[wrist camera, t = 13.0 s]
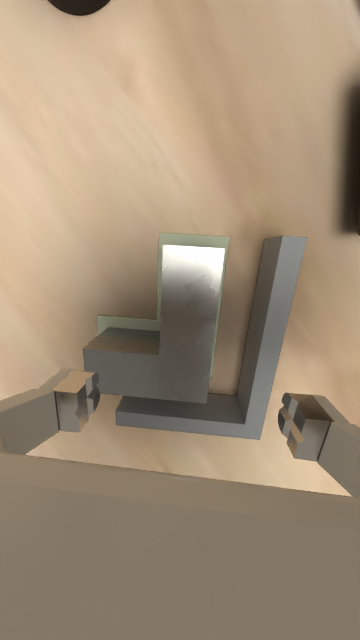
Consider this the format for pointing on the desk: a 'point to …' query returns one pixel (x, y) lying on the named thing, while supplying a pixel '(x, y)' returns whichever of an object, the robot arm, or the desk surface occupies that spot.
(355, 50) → the desk surface
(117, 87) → the desk surface
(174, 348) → the bracket
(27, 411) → the robot arm
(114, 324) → the mat
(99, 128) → the desk surface
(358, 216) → the end cap
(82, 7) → the travel mug
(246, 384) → the corner walls
